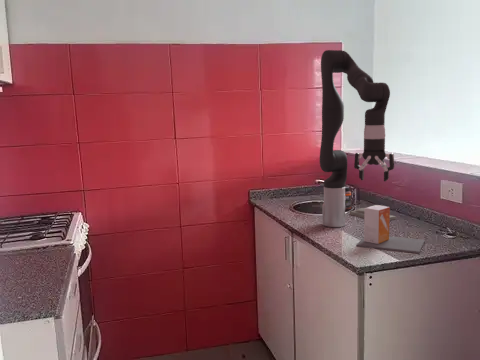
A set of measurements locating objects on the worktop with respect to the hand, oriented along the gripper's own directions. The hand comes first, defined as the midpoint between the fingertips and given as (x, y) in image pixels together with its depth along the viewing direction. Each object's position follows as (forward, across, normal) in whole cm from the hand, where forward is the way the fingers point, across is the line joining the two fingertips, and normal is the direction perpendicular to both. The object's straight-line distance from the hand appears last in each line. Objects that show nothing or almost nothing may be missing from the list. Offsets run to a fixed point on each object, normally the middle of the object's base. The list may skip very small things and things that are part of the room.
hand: (373, 180), depth 169 cm
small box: (+23, +2, 0) cm, 23 cm away
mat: (+24, +7, 0) cm, 25 cm away
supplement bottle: (+24, -26, +55) cm, 65 cm away
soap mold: (+25, -9, +41) cm, 49 cm away
